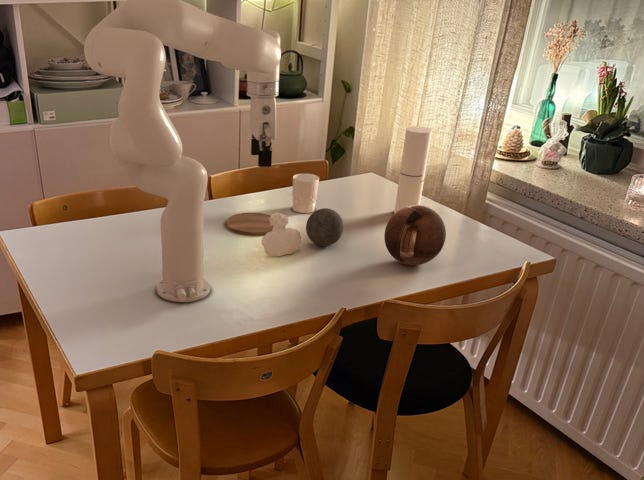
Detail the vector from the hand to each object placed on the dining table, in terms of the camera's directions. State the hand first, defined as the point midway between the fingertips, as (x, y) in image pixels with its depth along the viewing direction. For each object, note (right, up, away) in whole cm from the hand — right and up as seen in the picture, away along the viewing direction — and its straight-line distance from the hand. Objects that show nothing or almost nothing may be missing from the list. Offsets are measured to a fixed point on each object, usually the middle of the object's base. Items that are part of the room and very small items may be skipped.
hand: (260, 160), depth 173 cm
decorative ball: (+18, -18, +17) cm, 31 cm away
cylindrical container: (+46, -5, +38) cm, 60 cm away
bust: (+5, -21, +13) cm, 25 cm away
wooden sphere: (+39, -25, +7) cm, 47 cm away
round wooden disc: (-1, -11, +29) cm, 31 cm away
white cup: (+15, -4, +41) cm, 44 cm away
